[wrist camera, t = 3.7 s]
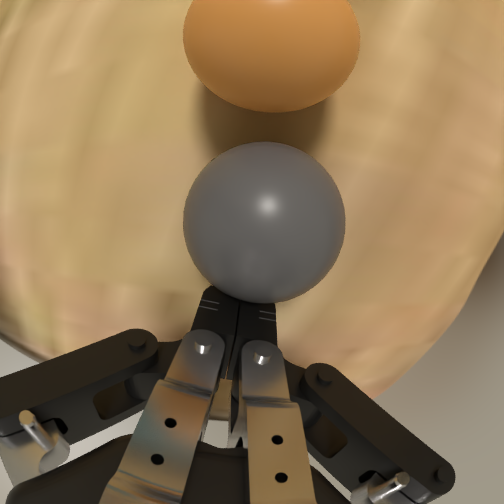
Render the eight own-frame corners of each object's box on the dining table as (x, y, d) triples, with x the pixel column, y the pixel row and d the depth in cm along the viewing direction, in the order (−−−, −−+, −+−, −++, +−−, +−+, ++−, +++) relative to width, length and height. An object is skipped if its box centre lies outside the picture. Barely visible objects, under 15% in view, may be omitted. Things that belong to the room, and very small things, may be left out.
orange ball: (184, 27, 8) (134, -26, 4) (304, -9, 7) (332, -76, 3) (229, 134, 11) (205, 143, 6) (352, 95, 10) (420, 83, 5)
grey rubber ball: (155, 258, 11) (168, 121, 8) (258, 239, 14) (286, 134, 11) (228, 362, 8) (282, 173, 5) (338, 306, 11) (395, 182, 8)
